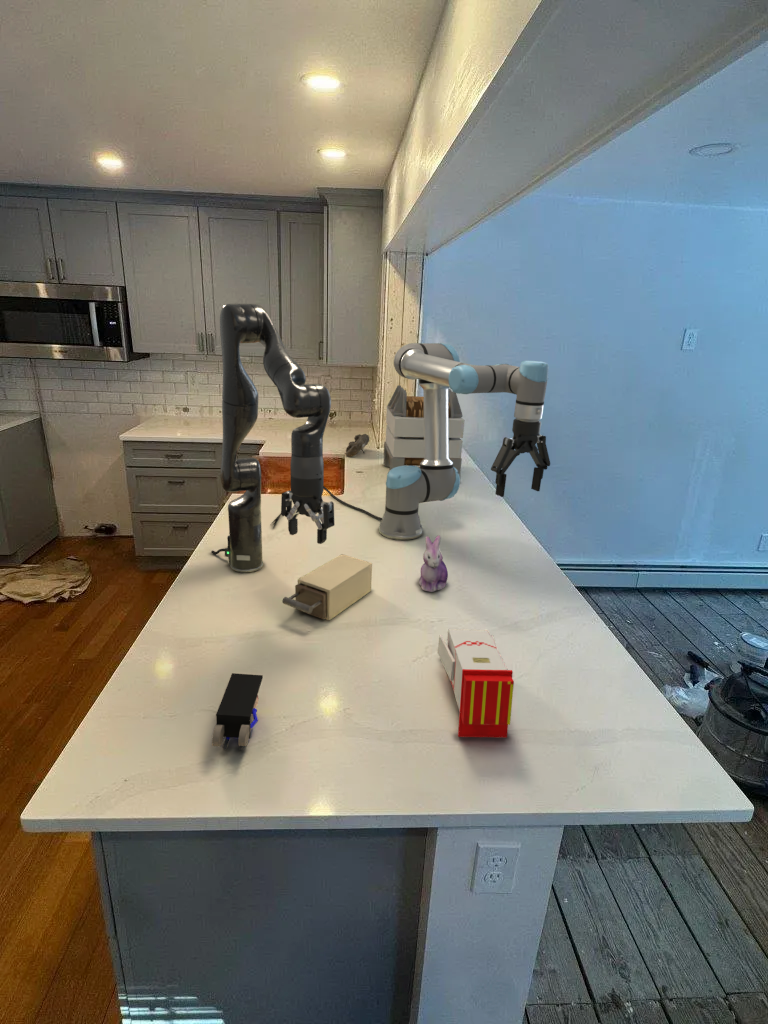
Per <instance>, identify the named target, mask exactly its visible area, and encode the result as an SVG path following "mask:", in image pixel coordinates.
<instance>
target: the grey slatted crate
mask: <svg viewBox="0 0 768 1024" xmlns="http://www.w3.org/2000/svg"><path fill="white" fill-rule="evenodd" d="M407 394H408V393H407V390H406V389H404V388H403V387H402V385H399V384H398V385H397V386H396V388H395V390H394V392H393V394H392V395H391V398H390V400H389V402H388V404H387V405H386V413H385V414H386V415H385V423H386V428H385V438H384V442H383V466H384V467H388V468H389V471H390V470H391V469H393V468H395V467H398V466H405V465H407V466H409V465H412V466H417V467H420V463H421V462H422V461H423V460H424V396H415V395H414V396H413V395H412V396H411V395H407ZM448 428H449V459H450V460H451V461H452V462H453V467H455V468H456V469H457V471H458V474H459V476H460V477H461V472H462V461H463V460H462V453H463V442H464V441H463V440H462V439H463V438H464V431H465V430H464V429H465V419H464V418H463V411H462V408H461V405H460V402H459V398H458V395H457V393H454V392H453V391H452V389H451V388H449V389H448Z"/></svg>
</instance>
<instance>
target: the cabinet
mask: <svg viewBox="0 0 768 1024" xmlns="http://www.w3.org/2000/svg"><path fill="white" fill-rule="evenodd" d="M372 573H373V563H372V562H370V561H367V560H363V559H360V558H356V557H353V556H350V555H346V554H343V553H341V554H340V555H337V556H336V557H334V558H333V559H331V560H329V561H327V562H325V563H324V564H322V565H320V566H318V567H317V568H315V569H313V570H311V571H309V572H308V573H306V574H305V575H303V576H301V577H298V579H297V584H300V585H303V586H304V584H305V585H308V586H311V587H313V588H316V589H319V590H322V591H325V592H327V613H326V618H325V619H324V620H327V621H331V620H332V619H334V618H336V616H338V615H339V614H341V613H342V612H343V611H345V610H347V609H348V608H349V607H351V606H352V605H353V604H355V603H356V602H357V601H358V602H359V600H360V599H362V598H363V597H365V596H366V595H367V594H369V593H370V592H372V581H373V580H372V578H373V577H372V575H373V574H372Z"/></svg>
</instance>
